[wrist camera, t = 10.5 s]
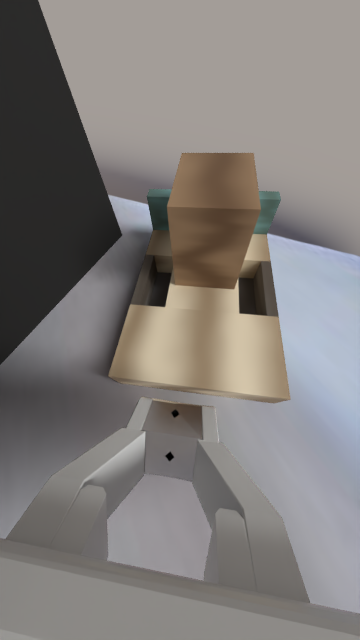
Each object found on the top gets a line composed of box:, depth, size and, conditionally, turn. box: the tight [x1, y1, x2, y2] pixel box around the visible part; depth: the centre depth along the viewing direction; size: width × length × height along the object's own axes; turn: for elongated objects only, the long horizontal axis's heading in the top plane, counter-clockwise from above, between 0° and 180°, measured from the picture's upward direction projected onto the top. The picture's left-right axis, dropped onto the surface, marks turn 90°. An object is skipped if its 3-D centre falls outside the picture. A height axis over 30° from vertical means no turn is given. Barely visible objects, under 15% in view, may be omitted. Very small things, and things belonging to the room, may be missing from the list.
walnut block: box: [167, 153, 261, 289], centre depth 17 cm, size 6×8×8 cm
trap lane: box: [108, 189, 290, 403], centre depth 19 cm, size 14×20×7 cm
